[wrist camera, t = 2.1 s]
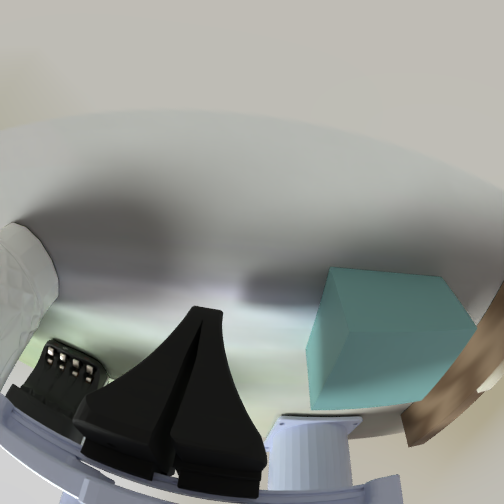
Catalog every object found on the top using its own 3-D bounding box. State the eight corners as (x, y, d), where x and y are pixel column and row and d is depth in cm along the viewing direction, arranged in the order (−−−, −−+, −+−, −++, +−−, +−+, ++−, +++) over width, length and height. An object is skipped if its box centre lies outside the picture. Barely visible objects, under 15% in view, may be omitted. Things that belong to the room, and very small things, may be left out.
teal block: (402, 347, 16) (421, 400, 12) (305, 347, 16) (310, 410, 12) (440, 275, 13) (477, 328, 9) (329, 265, 13) (349, 331, 9)
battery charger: (106, 356, 18) (52, 478, 8) (113, 380, 20) (71, 487, 10) (42, 327, 18) (-19, 425, 8) (53, 353, 20) (4, 443, 10)
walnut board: (415, 413, 21) (424, 446, 17) (400, 415, 21) (409, 449, 17) (522, 269, 12) (554, 304, 8) (511, 266, 12) (545, 303, 8)
